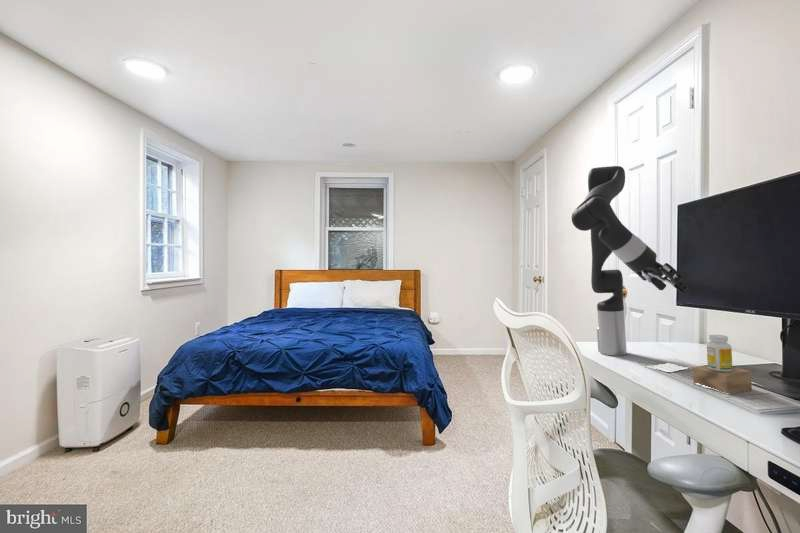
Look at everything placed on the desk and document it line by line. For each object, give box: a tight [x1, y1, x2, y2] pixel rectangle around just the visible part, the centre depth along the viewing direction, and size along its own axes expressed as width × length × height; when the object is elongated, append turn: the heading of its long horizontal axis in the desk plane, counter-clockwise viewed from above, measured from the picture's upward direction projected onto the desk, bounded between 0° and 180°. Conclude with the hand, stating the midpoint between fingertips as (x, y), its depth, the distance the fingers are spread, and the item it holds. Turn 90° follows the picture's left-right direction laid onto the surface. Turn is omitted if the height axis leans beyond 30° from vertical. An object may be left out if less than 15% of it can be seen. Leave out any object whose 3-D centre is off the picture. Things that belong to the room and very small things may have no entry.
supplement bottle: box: [706, 334, 733, 372], centre depth 105 cm, size 5×5×10 cm
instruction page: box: [645, 365, 657, 371], centre depth 124 cm, size 8×10×1 cm
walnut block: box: [692, 364, 753, 394], centre depth 105 cm, size 9×9×5 cm
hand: (674, 289), depth 106 cm, fingers open, 8 cm apart
